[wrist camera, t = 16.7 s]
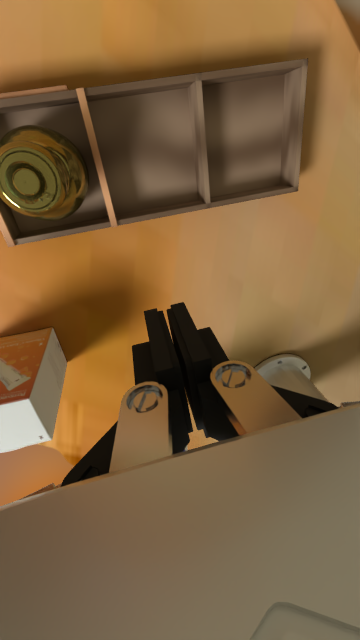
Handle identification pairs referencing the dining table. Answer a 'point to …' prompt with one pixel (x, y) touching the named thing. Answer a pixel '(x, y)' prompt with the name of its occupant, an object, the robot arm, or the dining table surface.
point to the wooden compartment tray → (168, 143)
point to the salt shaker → (42, 173)
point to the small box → (29, 387)
